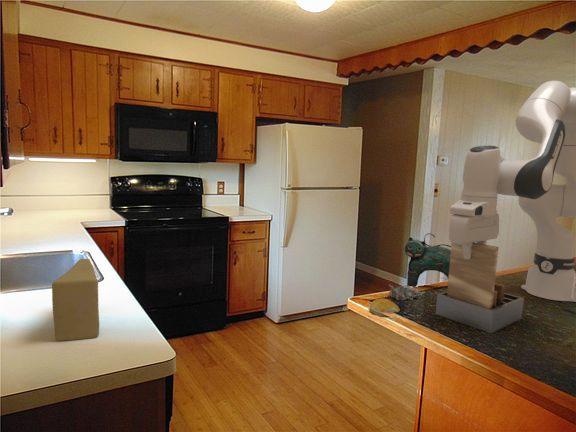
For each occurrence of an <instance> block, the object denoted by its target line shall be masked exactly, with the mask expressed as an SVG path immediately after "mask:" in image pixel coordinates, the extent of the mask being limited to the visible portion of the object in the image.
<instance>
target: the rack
mask: <svg viewBox="0 0 576 432" xmlns="http://www.w3.org/2000/svg"><path fill="white" fill-rule="evenodd" d="M436 295H437V296H436V307H435V315H437V316H440V317H442V318H446V319H448V320H452V321H455V322H457V323H459V324H464V325H466V326H469V327H472V328H474V329H477V330H480V331H483V332H486V333H489V334H492V333H494V332H495V333H496V332H497V331H498V330H501V329H503V328H505V327H507V326H509V325H511V324H514V323H515V322H518V321H519V320H521V319H523V309H524V301H525V298H524V297H521V296H518V295H513V294H509V293H506V292H504V300H503V302H501V301H498V300H496V305H494V304H493V305H492V309H489V308H486V307H482V306H479V305H476V304H472V303H469V302H466V301H462V300H459V299H456V298H452V297H449V296H447V290H446V291H443V292H439V293H437V294H436Z"/></svg>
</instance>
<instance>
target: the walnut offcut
mask: <svg viewBox="0 0 576 432" xmlns="http://www.w3.org/2000/svg"><path fill="white" fill-rule="evenodd" d="M505 288H506V285H505V284H502V283H498V282H495V286H494V291H497V299H496V300H498V301H501V302H503V300H504V293H505V290H506V289H505Z"/></svg>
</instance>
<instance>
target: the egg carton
mask: <svg viewBox="0 0 576 432" xmlns="http://www.w3.org/2000/svg"><path fill="white" fill-rule="evenodd" d="M388 286H389V288H390V290H389V297H390V296H391V297H390V298H395V300H396V301H400V300H401V301H404V300H410V301H413V300H414V299H418V300H421V299H422V296H423V294H424V292H421V291H418V289H414V288H413V287H412V286H407V285H403V286H402V285H401V286H396V287H394V286H393V285H391V284H388Z"/></svg>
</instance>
